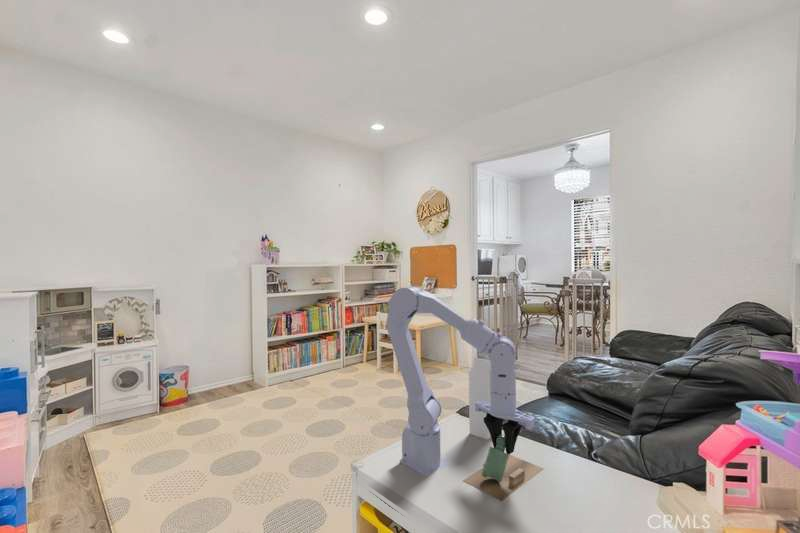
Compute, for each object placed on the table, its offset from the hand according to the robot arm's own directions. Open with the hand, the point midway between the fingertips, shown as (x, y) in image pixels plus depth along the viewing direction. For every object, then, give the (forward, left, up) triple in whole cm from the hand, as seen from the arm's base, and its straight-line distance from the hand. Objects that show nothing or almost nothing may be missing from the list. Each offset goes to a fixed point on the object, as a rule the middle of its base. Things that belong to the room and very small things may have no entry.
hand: (503, 449), depth 86 cm
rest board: (0, 0, -6) cm, 6 cm away
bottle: (0, -5, -4) cm, 7 cm away
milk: (-16, +15, -6) cm, 23 cm away
